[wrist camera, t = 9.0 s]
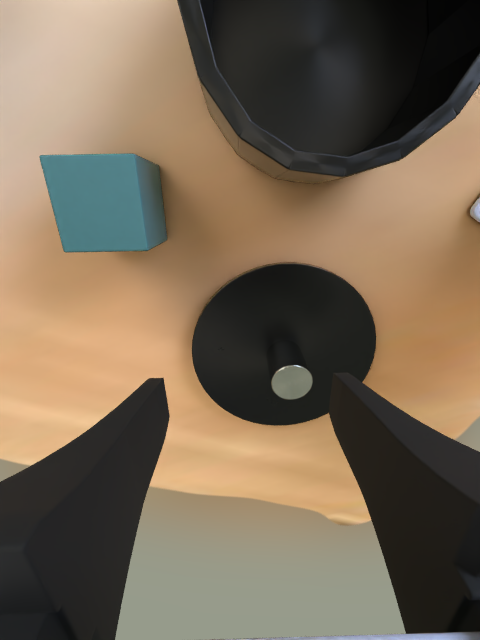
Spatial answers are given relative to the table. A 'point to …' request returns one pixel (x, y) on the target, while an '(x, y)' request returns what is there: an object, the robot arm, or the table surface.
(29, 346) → the table surface
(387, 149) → the black round container
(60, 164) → the block
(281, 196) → the table surface
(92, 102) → the table surface
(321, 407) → the lid
